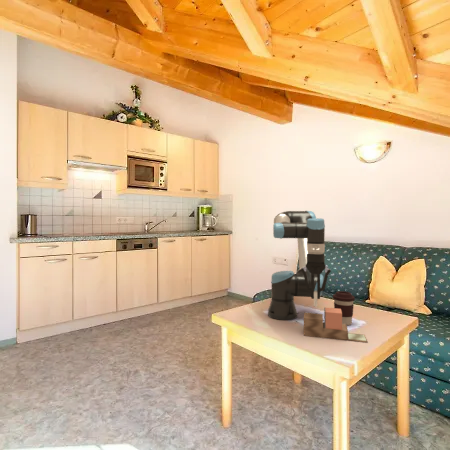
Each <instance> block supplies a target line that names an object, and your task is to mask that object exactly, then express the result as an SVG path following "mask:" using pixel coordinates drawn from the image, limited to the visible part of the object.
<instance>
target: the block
mask: <svg viewBox="0 0 450 450" xmlns="http://www.w3.org/2000/svg"><path fill="white" fill-rule="evenodd" d="M323 312H324V313H323V322H324V327H325V328H327V329H337V330H342V311H341V309H337V308H334V307H325V306H324V309H323Z"/></svg>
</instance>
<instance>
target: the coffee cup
mask: <svg viewBox="0 0 450 450" xmlns="http://www.w3.org/2000/svg"><path fill="white" fill-rule="evenodd" d="M332 299H333V300H334V302H333V308H337V309H341V311H342V324H346V325H347V326H351V325H352V324H353V323H352V321H353V315H354V301H355V300H356V296H354V295H353V294H352V293H351V292H349V291H342V290H341V291H340V290H339V291H336V292H335V293H334V294H333V295H332Z"/></svg>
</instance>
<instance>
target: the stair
mask: <svg viewBox="0 0 450 450" xmlns="http://www.w3.org/2000/svg"><path fill="white" fill-rule="evenodd" d="M347 326H348V325H346V324H342V330H337V329H327V328H325V327H324V313H323V314H322V313H312V312H304V313H303V336H304V337H312V338H322V339H329V340H330V339H331V340H338V341H339V340H340V341H349V342H356V343H367V344H368V339H367V336H366V334H361V333H354V332H349V330H348V327H347Z"/></svg>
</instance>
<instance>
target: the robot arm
mask: <svg viewBox="0 0 450 450" xmlns="http://www.w3.org/2000/svg"><path fill="white" fill-rule="evenodd" d="M325 224H326V223H325V219H324V218H320V217H319V218H317V217H316V214H315V212H314V211H311V210H286V211H283V212H280V213H278V214H277V215H276V216H275V217H274V218H273V227H272V228H273V229H272V231H273V238H275V239H279V240H281V239H297V250H298V265H299V269H298V270H296V271H297V272H296V273H295V272H294V270H280V271H276V272H273V273H272V275H271V280H270V283H271V292H270V293H271V294H270V295H271V301H270V304H269V307H268V311H267V314H268V315H267V316H268V317H270V318H272V319H273V320H274V319H275V320H279V321H280V320H283V321H289V320H290V321H291V320H295V319H297V318H298V310H297V307H296V304H295V299H294V298H295V297H300V298H301V297H303V298H304V297H305V298H310V299H313V307H315V308H318V300H320V299H321V296H322V295H323V292H324V291H325V289H326V285H327V281H328V277H329V275H330V273H331V272H332V271H331V268H328V267H327V265H326V263H325V261H326V260H325V257H326V256H325V249H326V248H325V247H326V245H325V235H326V234H325V233H326V232H325V231H326V229H325V228H326V225H325ZM323 272H325V273H324V275H323V274H322V273H323Z"/></svg>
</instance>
